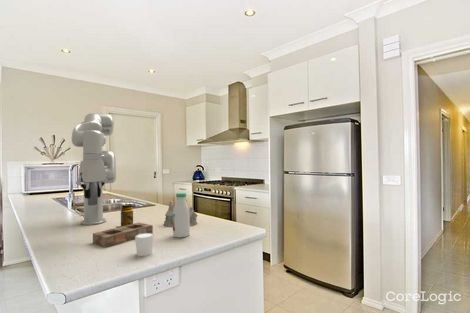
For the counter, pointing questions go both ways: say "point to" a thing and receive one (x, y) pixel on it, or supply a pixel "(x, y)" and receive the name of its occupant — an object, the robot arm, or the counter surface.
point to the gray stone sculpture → (169, 216)
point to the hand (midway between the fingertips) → (92, 197)
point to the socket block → (121, 234)
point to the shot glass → (144, 244)
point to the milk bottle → (181, 217)
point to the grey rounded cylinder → (93, 193)
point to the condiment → (126, 215)
